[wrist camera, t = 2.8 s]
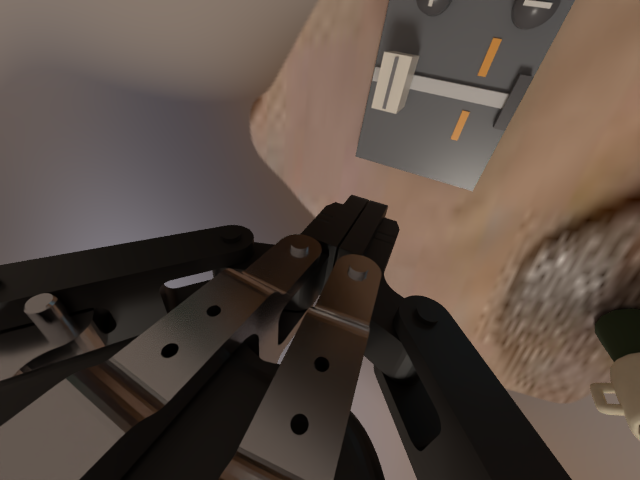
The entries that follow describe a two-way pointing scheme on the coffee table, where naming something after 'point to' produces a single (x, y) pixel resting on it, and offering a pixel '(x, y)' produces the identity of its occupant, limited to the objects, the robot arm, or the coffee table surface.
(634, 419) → the character mug
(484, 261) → the coffee table surface
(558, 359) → the coffee table surface
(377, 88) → the fader cap
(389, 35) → the console board
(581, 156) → the coffee table surface
